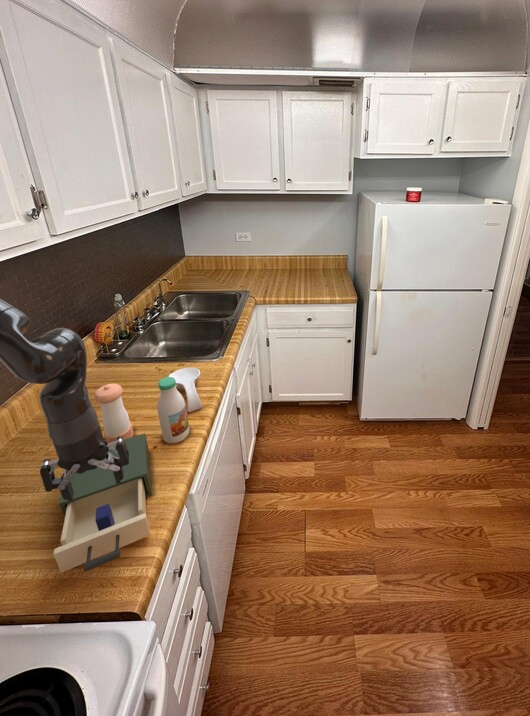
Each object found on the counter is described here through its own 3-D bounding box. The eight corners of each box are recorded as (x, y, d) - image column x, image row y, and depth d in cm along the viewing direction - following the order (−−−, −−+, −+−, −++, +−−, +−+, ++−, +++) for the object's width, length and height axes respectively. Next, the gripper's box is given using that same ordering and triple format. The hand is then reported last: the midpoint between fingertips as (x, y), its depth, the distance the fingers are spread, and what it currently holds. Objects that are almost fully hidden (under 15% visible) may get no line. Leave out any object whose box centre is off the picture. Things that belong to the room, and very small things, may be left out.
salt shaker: (120, 426, 106) (107, 376, 99) (139, 431, 104) (127, 380, 97) (100, 443, 99) (85, 390, 92) (119, 449, 97) (105, 396, 90)
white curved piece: (166, 380, 128) (163, 364, 126) (197, 371, 134) (195, 356, 132) (178, 417, 110) (175, 399, 107) (213, 405, 116) (211, 388, 113)
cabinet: (151, 495, 84) (146, 473, 81) (68, 527, 76) (59, 504, 74) (149, 453, 96) (145, 433, 93) (77, 477, 88) (69, 455, 86)
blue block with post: (101, 539, 72) (95, 520, 70) (103, 512, 78) (98, 494, 75) (114, 533, 73) (108, 515, 71) (115, 508, 79) (110, 490, 76)
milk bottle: (163, 447, 98) (151, 392, 91) (163, 429, 105) (152, 376, 97) (190, 439, 101) (181, 385, 94) (188, 422, 108) (180, 370, 100)
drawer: (151, 555, 70) (146, 537, 68) (56, 598, 63) (48, 579, 61) (148, 486, 85) (144, 469, 83) (71, 514, 78) (65, 497, 76)
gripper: (118, 405, 70) (133, 462, 76) (33, 428, 64) (57, 488, 70) (117, 429, 64) (133, 489, 69) (23, 456, 57) (50, 520, 63)
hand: (95, 488), depth 70 cm, fingers open, 8 cm apart
